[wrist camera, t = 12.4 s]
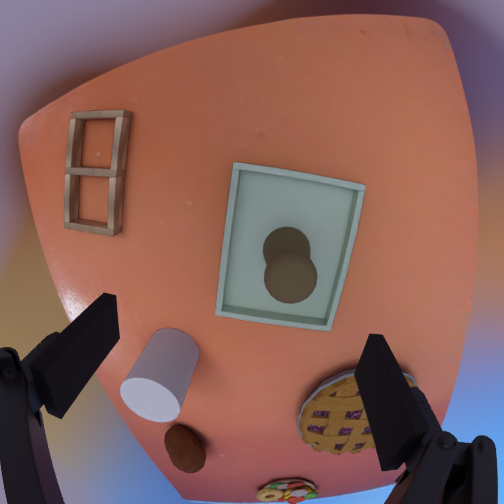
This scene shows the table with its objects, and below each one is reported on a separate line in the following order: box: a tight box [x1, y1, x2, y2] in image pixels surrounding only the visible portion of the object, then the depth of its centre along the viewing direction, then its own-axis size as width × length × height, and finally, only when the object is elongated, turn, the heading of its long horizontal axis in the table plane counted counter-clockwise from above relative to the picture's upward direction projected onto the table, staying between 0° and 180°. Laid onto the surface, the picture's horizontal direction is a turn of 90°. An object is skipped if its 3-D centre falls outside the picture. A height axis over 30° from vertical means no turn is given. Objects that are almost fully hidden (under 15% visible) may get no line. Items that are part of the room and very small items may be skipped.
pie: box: [297, 368, 419, 455], centre depth 44 cm, size 22×22×5 cm
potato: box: [164, 426, 206, 473], centre depth 48 cm, size 8×12×8 cm, turn 19°
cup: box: [120, 328, 199, 422], centre depth 39 cm, size 8×8×12 cm
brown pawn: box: [263, 227, 318, 304], centre depth 33 cm, size 6×6×11 cm
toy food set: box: [256, 479, 318, 504], centre depth 54 cm, size 13×13×3 cm
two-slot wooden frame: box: [64, 110, 132, 236], centre depth 36 cm, size 17×9×2 cm, turn 172°
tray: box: [215, 162, 366, 332], centre depth 37 cm, size 20×16×3 cm
